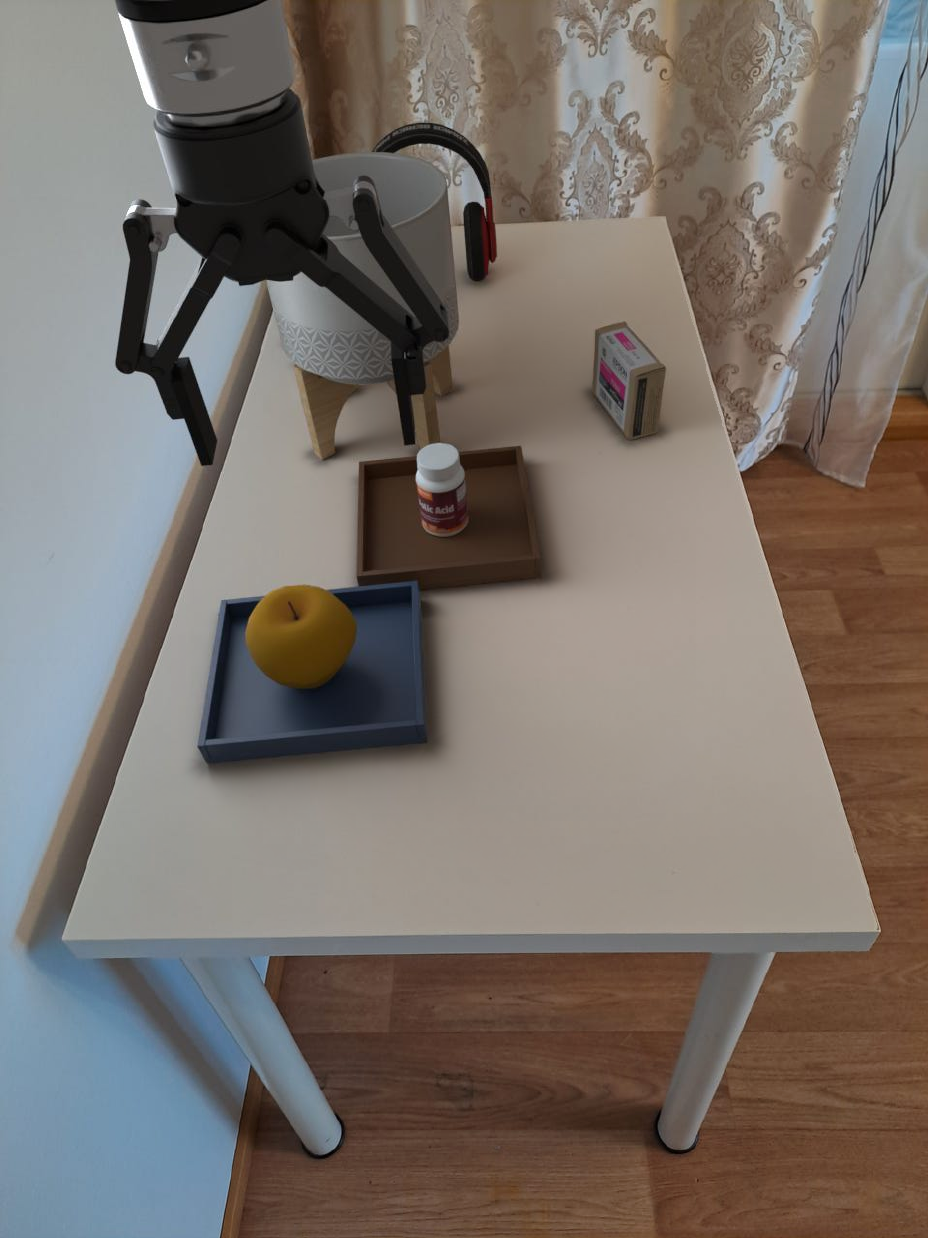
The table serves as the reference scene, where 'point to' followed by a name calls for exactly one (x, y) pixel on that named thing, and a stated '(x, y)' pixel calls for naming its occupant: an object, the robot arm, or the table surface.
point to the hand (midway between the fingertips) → (309, 443)
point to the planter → (339, 337)
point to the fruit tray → (330, 714)
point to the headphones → (475, 224)
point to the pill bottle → (441, 490)
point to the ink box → (628, 380)
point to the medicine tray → (476, 555)
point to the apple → (300, 635)
